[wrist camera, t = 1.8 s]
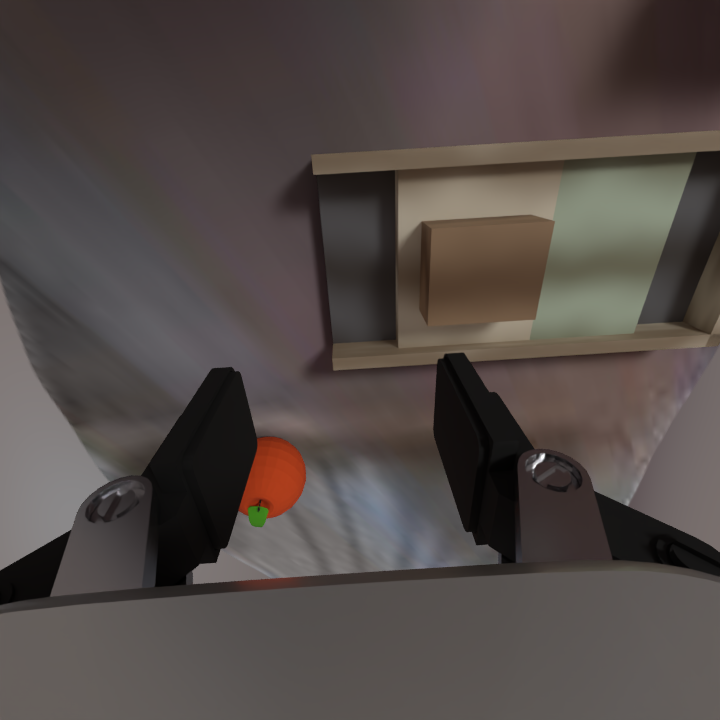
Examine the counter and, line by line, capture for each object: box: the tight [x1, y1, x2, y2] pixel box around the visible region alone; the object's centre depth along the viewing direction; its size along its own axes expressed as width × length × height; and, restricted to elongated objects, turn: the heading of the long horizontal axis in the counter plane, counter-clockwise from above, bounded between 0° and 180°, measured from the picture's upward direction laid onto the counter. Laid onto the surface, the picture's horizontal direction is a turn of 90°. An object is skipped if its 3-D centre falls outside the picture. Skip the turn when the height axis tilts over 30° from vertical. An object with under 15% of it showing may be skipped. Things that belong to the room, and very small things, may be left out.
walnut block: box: [419, 215, 555, 326], centre depth 23 cm, size 6×7×3 cm
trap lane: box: [311, 130, 720, 370], centre depth 25 cm, size 14×29×4 cm, turn 93°
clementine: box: [239, 437, 306, 527], centre depth 32 cm, size 8×7×7 cm
